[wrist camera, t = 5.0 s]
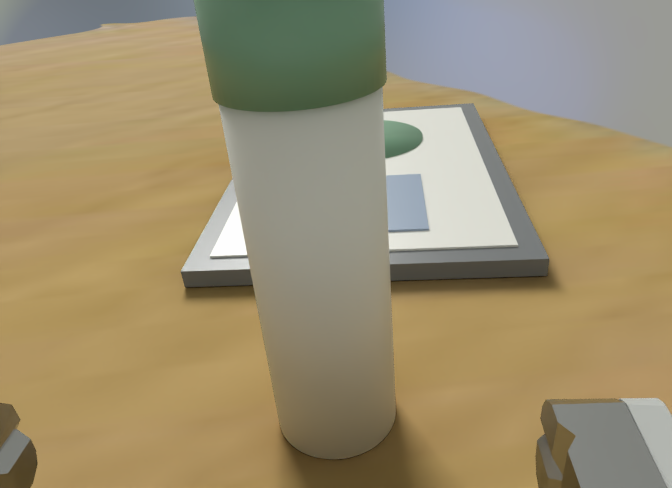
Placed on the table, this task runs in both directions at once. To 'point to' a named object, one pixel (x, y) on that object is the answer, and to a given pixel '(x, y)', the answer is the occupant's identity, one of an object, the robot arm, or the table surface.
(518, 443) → the table surface
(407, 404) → the table surface
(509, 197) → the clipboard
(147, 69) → the table surface
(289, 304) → the marker
